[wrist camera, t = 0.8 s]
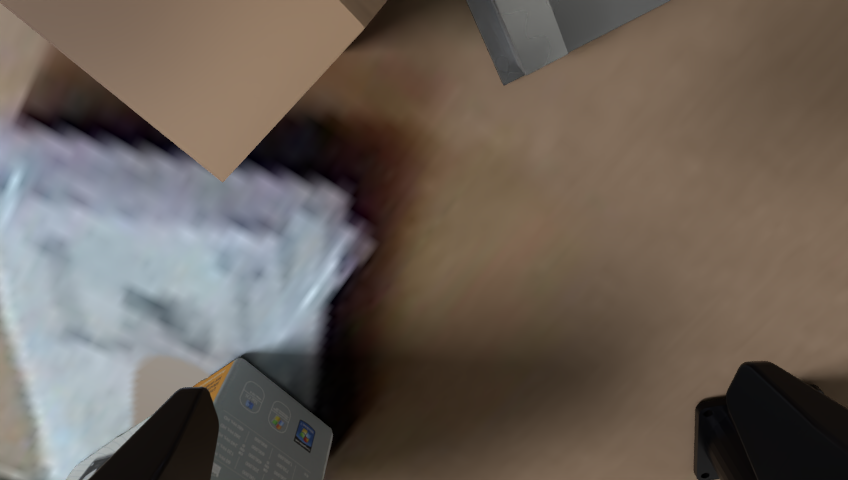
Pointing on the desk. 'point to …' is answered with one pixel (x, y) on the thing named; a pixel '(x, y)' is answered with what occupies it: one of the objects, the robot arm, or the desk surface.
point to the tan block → (203, 60)
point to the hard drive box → (249, 431)
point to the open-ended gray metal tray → (546, 28)
